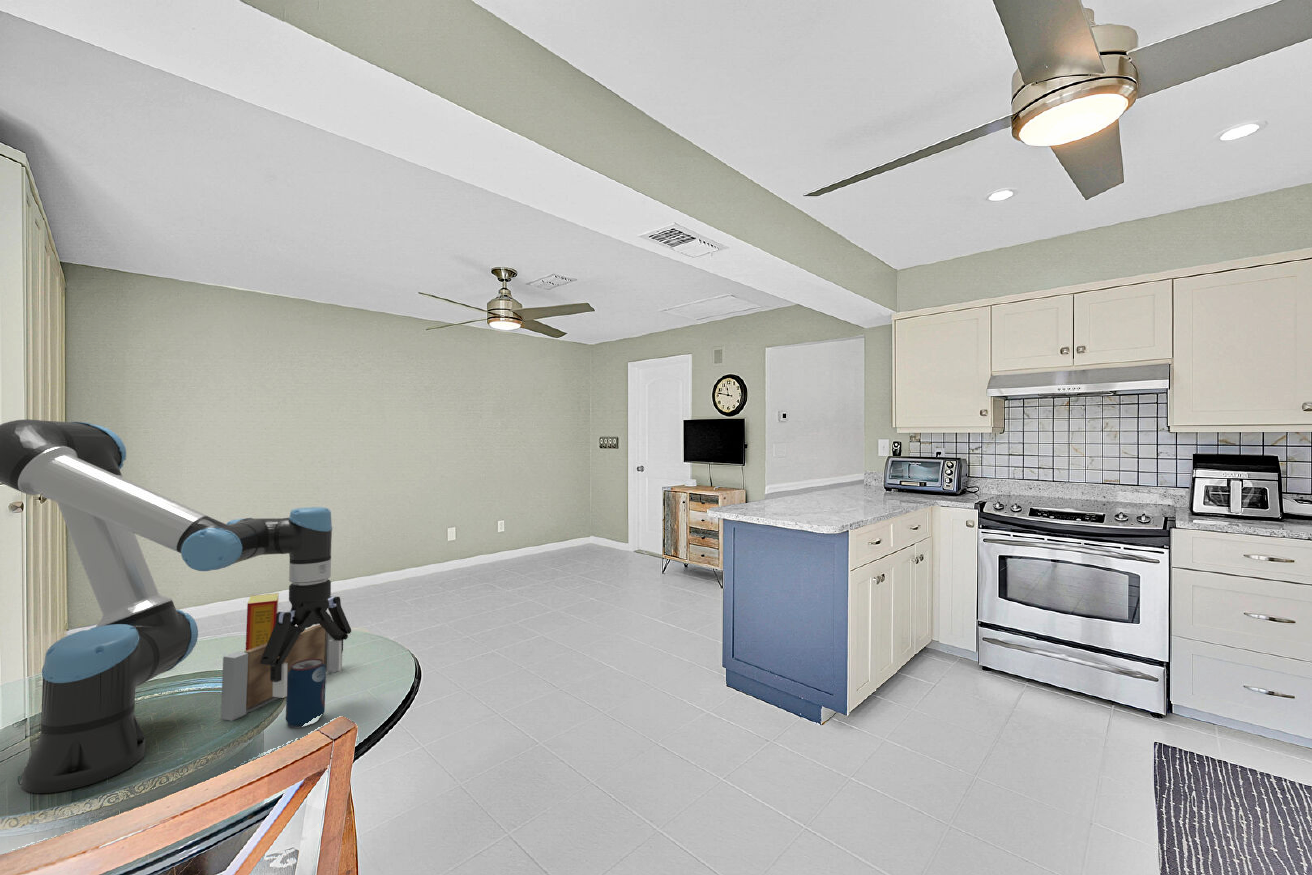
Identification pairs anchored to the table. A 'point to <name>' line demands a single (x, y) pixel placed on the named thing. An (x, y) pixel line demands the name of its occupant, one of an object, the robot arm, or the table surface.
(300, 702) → the soda can
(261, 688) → the door
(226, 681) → the gray u-shaped frame
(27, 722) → the table surface
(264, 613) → the baking soda box
